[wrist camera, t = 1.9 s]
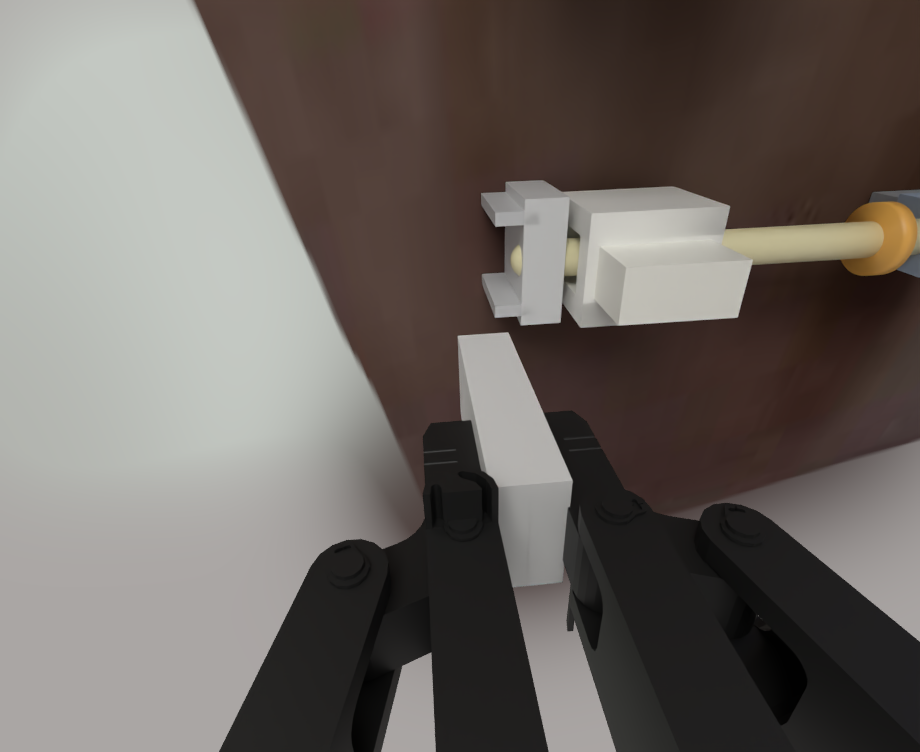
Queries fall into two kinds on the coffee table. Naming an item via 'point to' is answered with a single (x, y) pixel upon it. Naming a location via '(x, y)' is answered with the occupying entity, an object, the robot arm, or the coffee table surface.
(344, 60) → the coffee table surface
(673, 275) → the white stepped block
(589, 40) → the coffee table surface
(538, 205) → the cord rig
